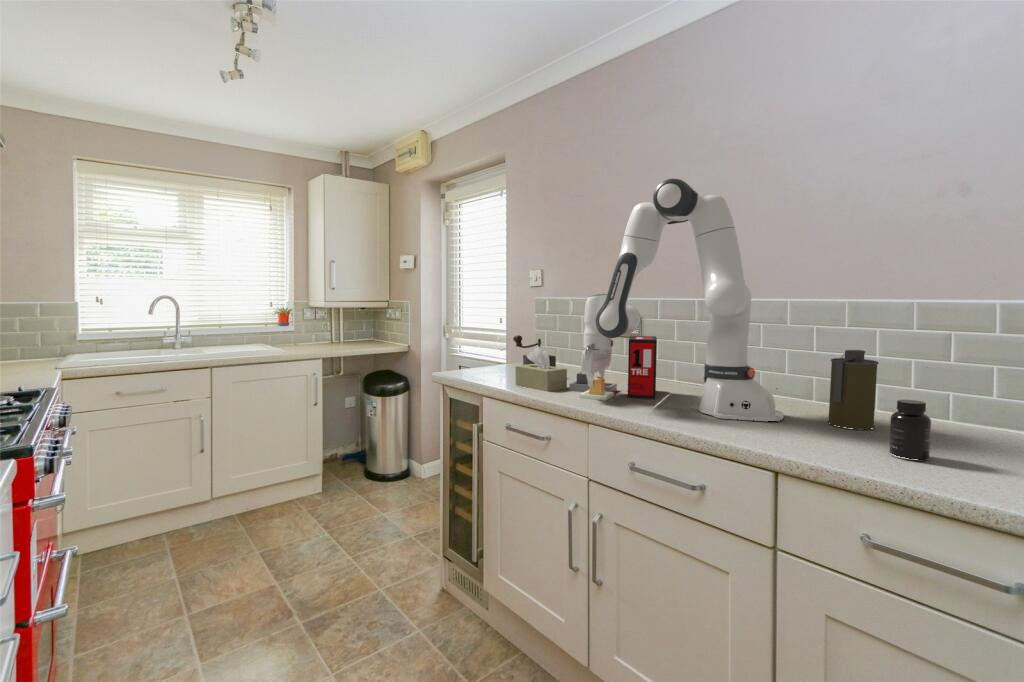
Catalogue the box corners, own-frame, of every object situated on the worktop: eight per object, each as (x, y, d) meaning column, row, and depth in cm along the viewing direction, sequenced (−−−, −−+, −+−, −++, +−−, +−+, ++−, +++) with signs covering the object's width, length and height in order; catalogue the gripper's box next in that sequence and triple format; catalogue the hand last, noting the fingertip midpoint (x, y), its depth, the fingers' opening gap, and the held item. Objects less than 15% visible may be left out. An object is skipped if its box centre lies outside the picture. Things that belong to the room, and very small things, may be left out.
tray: (613, 397, 174) (614, 392, 174) (605, 402, 166) (605, 396, 166) (588, 394, 178) (588, 389, 178) (579, 399, 170) (579, 394, 170)
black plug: (590, 389, 186) (591, 373, 185) (587, 391, 182) (587, 374, 182) (580, 388, 188) (580, 372, 187) (576, 390, 184) (576, 373, 184)
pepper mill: (541, 374, 225) (541, 333, 224) (556, 377, 216) (556, 335, 214) (511, 377, 217) (511, 335, 216) (525, 381, 208) (525, 336, 206)
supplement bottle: (911, 451, 113) (914, 398, 112) (937, 461, 106) (942, 404, 105) (880, 452, 112) (884, 398, 111) (905, 462, 106) (909, 405, 105)
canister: (845, 419, 143) (849, 347, 141) (884, 428, 133) (888, 351, 131) (817, 422, 139) (821, 349, 137) (855, 432, 129) (859, 353, 127)
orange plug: (604, 396, 173) (604, 378, 172) (600, 398, 169) (601, 380, 169) (593, 395, 175) (593, 377, 174) (589, 397, 171) (589, 379, 171)
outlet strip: (616, 392, 184) (616, 383, 183) (609, 395, 177) (610, 387, 176) (577, 388, 191) (577, 380, 190) (569, 392, 184) (569, 383, 183)
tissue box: (514, 386, 196) (514, 345, 195) (534, 383, 202) (534, 343, 201) (547, 393, 182) (548, 349, 180) (567, 390, 188) (568, 347, 186)
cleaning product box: (629, 390, 187) (630, 335, 185) (654, 391, 184) (656, 336, 182) (627, 399, 171) (628, 339, 169) (655, 400, 168) (656, 340, 167)
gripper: (595, 346, 160) (594, 389, 161) (614, 341, 178) (613, 380, 179) (576, 344, 163) (575, 387, 164) (597, 340, 181) (596, 378, 182)
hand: (595, 383), depth 172 cm, fingers open, 8 cm apart
